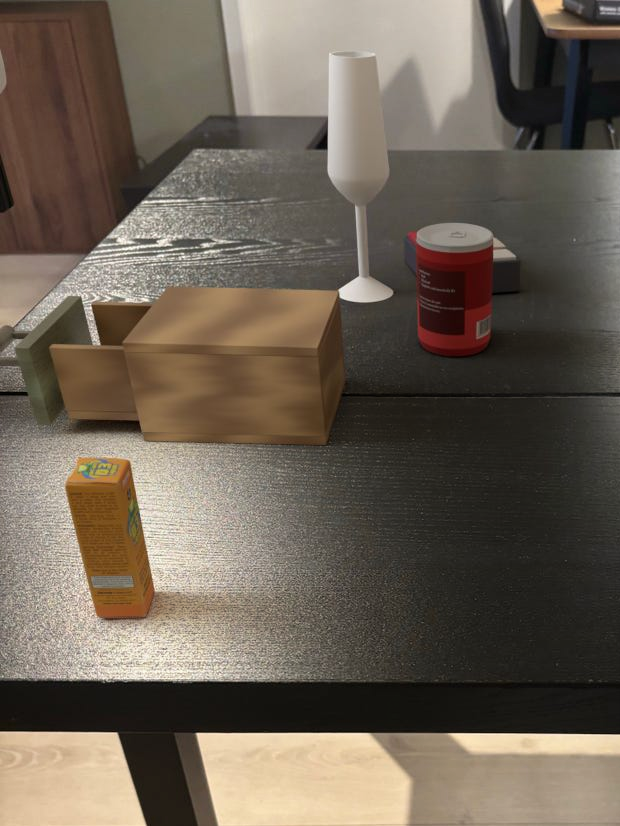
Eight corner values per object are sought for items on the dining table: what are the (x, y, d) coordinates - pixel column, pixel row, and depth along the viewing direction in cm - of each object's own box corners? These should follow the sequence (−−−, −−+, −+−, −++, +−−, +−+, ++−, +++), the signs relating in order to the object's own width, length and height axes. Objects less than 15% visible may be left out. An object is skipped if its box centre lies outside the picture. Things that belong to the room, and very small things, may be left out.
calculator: (486, 225, 120) (521, 253, 109) (486, 260, 123) (520, 291, 111) (402, 229, 118) (429, 259, 106) (404, 265, 120) (430, 297, 109)
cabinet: (143, 440, 80) (121, 342, 75) (184, 376, 91) (167, 286, 85) (326, 445, 80) (317, 347, 75) (345, 380, 91) (339, 290, 85)
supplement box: (151, 618, 61) (117, 482, 54) (96, 620, 60) (56, 483, 54) (160, 589, 63) (129, 455, 57) (108, 590, 63) (71, 456, 57)
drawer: (-31, 423, 80) (-57, 345, 75) (26, 365, 89) (5, 293, 85) (207, 429, 80) (193, 352, 76) (237, 371, 90) (227, 299, 85)
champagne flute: (325, 296, 109) (306, 55, 94) (355, 279, 114) (341, 47, 99) (375, 306, 107) (363, 60, 92) (403, 289, 112) (397, 53, 97)
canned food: (483, 327, 102) (486, 221, 95) (497, 356, 96) (501, 244, 89) (413, 330, 101) (411, 223, 94) (422, 359, 95) (421, 246, 88)
